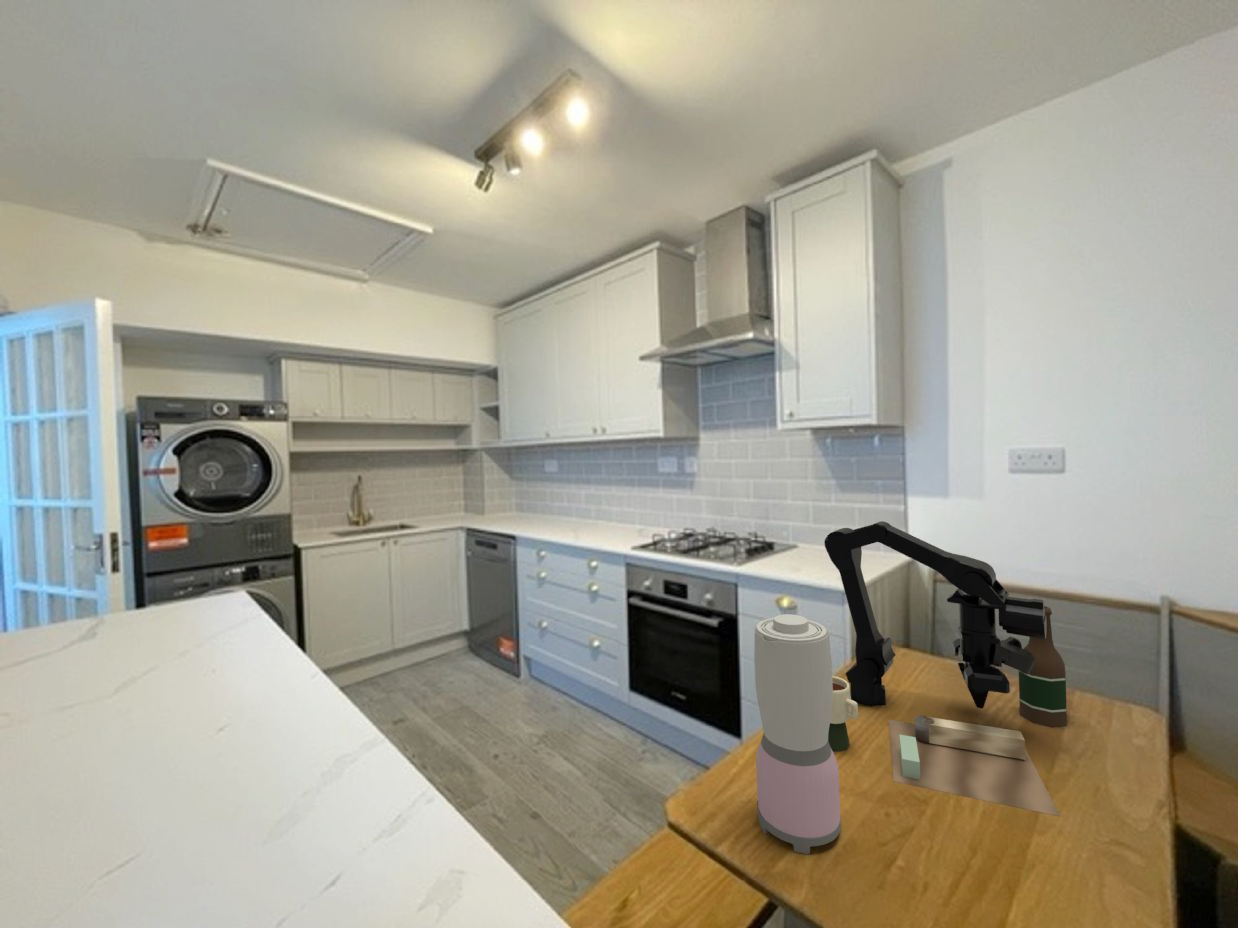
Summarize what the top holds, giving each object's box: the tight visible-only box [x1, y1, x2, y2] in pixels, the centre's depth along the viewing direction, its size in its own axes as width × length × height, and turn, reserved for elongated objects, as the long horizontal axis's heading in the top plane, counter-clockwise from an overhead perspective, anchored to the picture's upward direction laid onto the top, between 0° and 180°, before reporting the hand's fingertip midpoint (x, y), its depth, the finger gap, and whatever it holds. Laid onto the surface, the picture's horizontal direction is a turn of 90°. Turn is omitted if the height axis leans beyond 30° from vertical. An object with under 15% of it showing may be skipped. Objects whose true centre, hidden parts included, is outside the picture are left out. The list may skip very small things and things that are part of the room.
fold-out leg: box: [914, 715, 1026, 760], centre depth 94 cm, size 17×3×4 cm, turn 64°
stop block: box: [899, 734, 920, 780], centre depth 90 cm, size 3×8×3 cm, turn 154°
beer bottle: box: [1018, 605, 1068, 729], centre depth 103 cm, size 8×8×24 cm
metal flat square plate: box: [887, 719, 1061, 817], centre depth 91 cm, size 22×21×2 cm
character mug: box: [828, 675, 859, 753], centre depth 98 cm, size 11×7×13 cm, turn 35°
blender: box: [753, 613, 842, 855], centre depth 80 cm, size 16×12×32 cm
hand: (979, 707), depth 99 cm, fingers closed
